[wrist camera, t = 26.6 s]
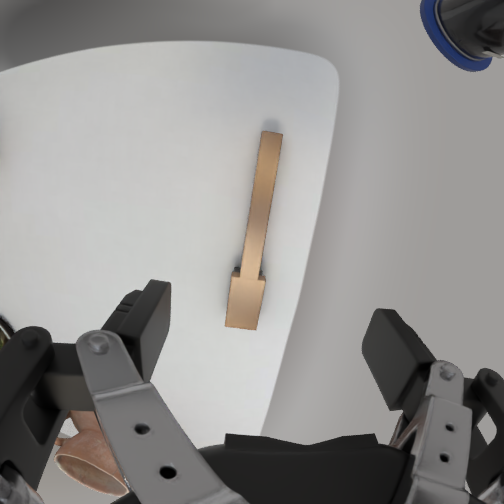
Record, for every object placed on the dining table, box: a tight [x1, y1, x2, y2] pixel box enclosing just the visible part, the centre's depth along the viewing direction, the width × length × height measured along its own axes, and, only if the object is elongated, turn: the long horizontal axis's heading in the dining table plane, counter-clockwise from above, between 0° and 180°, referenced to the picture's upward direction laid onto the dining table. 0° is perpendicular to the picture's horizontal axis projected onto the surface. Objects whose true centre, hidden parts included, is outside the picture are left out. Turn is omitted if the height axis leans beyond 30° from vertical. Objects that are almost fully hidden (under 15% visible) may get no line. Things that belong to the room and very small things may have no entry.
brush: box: [225, 131, 283, 330], centre depth 29 cm, size 20×3×3 cm, turn 171°
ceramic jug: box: [54, 410, 129, 497], centre depth 34 cm, size 18×14×14 cm
